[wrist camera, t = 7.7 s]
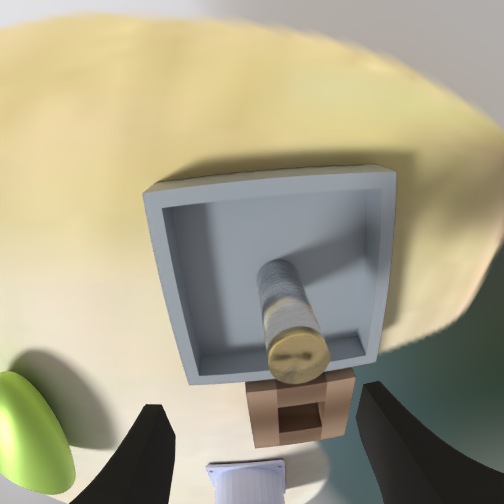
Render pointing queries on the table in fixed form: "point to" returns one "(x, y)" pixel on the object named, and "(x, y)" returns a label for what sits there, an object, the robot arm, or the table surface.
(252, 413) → the pin block
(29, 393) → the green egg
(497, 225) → the table surface
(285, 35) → the table surface
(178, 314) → the tray
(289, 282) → the pin
